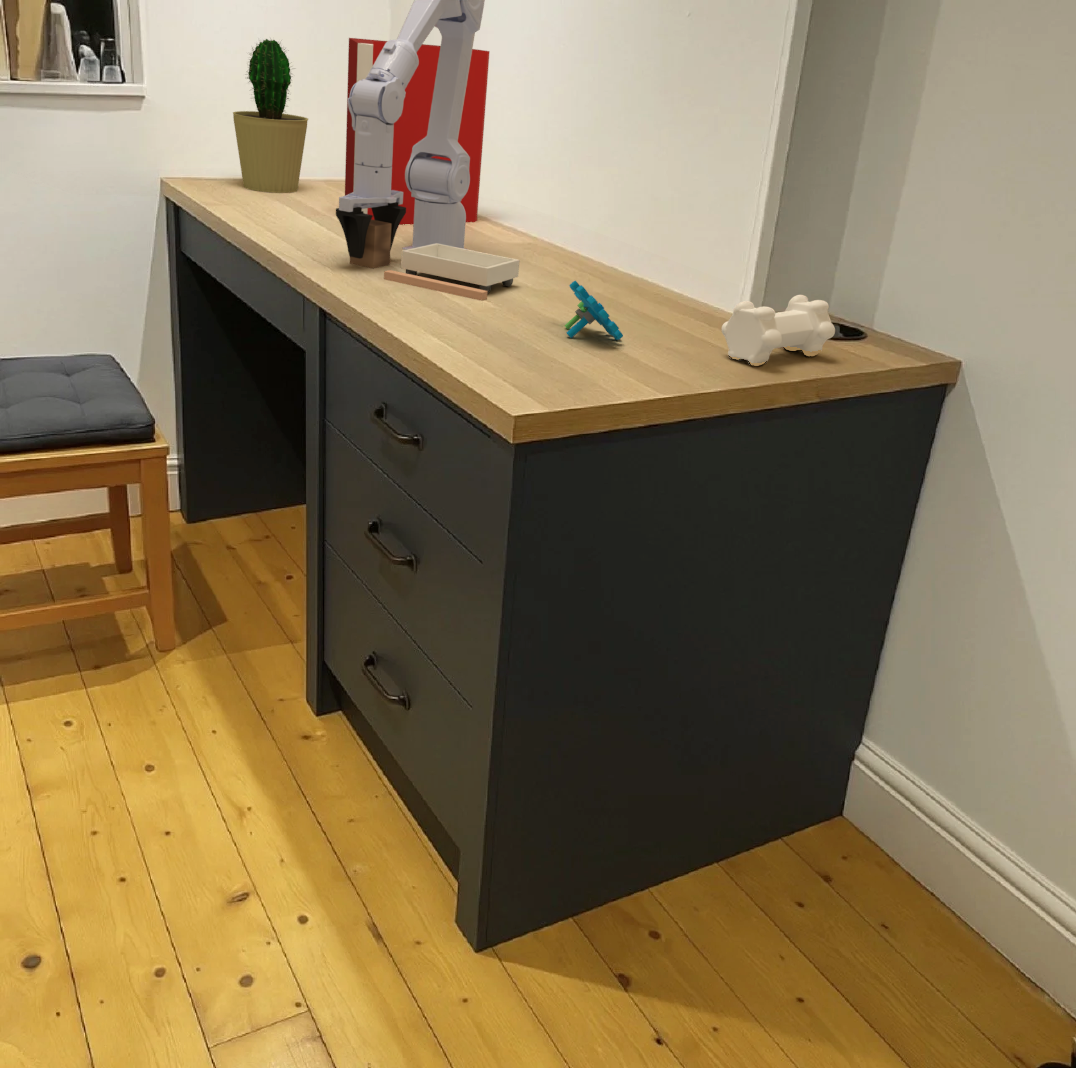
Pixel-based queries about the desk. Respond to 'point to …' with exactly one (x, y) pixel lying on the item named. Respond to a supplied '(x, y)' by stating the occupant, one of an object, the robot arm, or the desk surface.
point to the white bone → (777, 328)
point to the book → (422, 118)
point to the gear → (590, 314)
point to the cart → (460, 265)
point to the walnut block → (376, 246)
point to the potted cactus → (270, 125)
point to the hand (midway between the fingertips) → (370, 254)
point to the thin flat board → (435, 285)
